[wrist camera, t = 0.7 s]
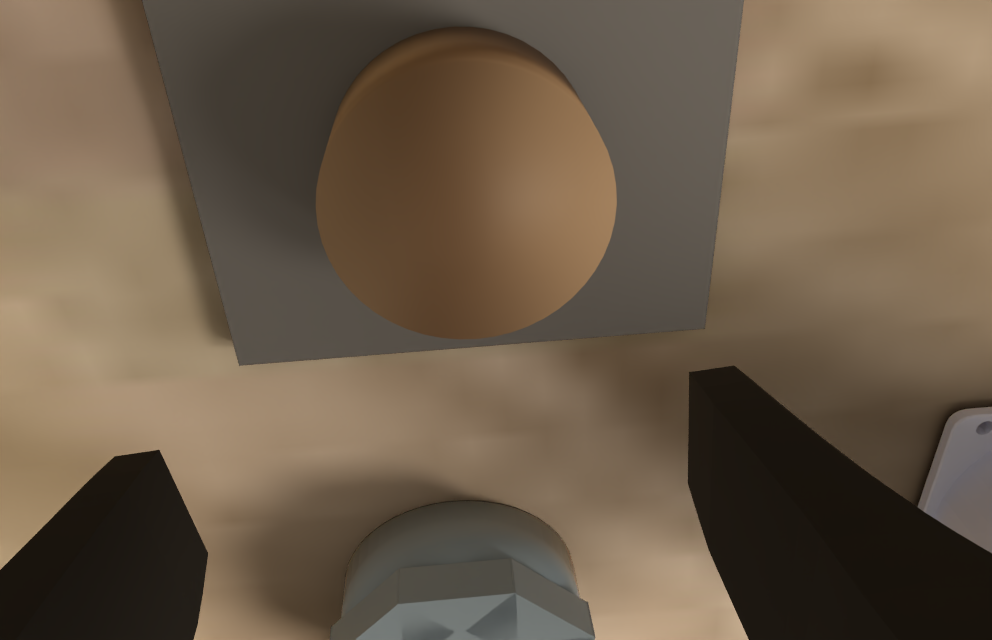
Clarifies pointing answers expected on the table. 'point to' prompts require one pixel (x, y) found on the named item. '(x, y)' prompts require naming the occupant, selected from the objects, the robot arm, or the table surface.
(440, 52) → the lid
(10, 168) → the table surface
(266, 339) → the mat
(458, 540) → the dish
